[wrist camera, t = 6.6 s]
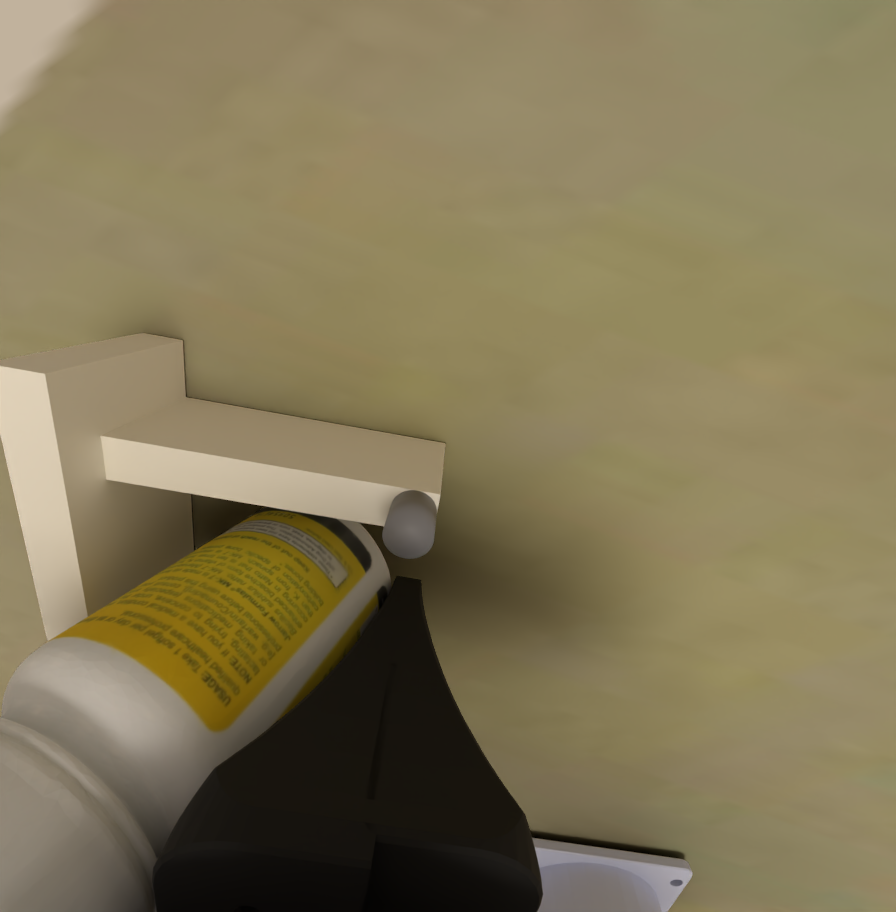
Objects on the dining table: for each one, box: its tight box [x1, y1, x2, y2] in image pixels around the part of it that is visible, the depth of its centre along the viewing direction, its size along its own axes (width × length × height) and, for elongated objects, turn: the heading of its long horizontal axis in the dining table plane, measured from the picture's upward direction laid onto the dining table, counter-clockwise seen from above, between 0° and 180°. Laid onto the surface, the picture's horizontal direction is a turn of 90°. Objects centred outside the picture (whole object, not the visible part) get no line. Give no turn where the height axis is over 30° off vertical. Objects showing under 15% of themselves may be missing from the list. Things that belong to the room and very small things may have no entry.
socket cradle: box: [0, 333, 446, 641], centre depth 12 cm, size 12×8×4 cm, turn 170°
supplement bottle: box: [0, 507, 392, 912], centre depth 9 cm, size 5×5×8 cm
